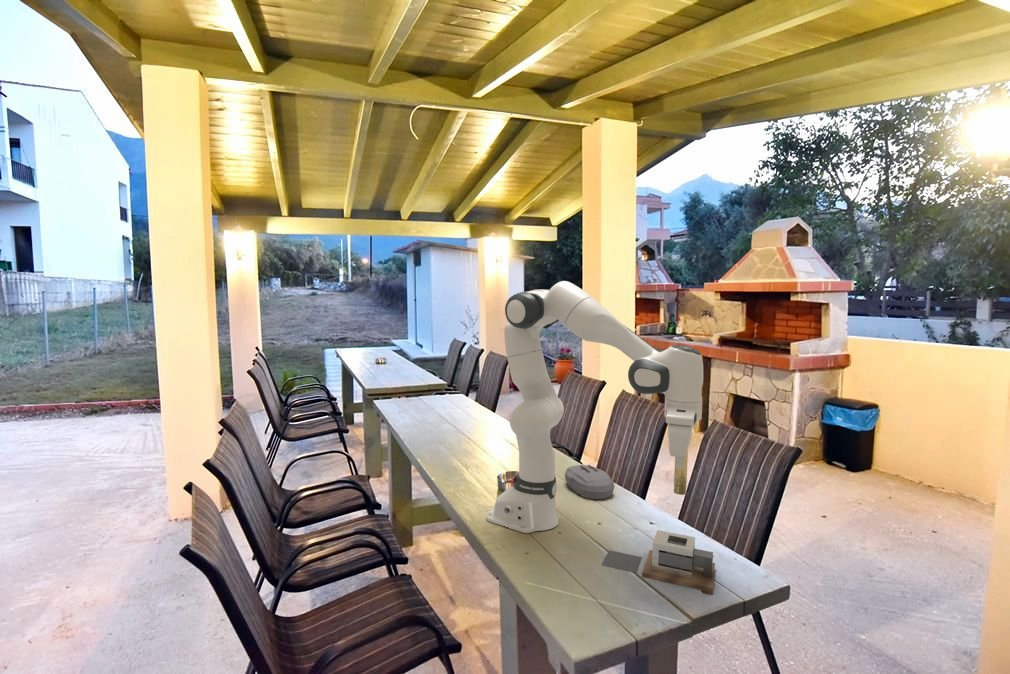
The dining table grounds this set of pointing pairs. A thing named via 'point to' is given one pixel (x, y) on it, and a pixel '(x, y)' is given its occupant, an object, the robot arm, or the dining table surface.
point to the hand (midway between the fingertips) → (680, 465)
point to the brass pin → (680, 478)
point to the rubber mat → (622, 561)
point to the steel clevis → (679, 555)
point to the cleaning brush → (589, 481)
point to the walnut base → (681, 577)
